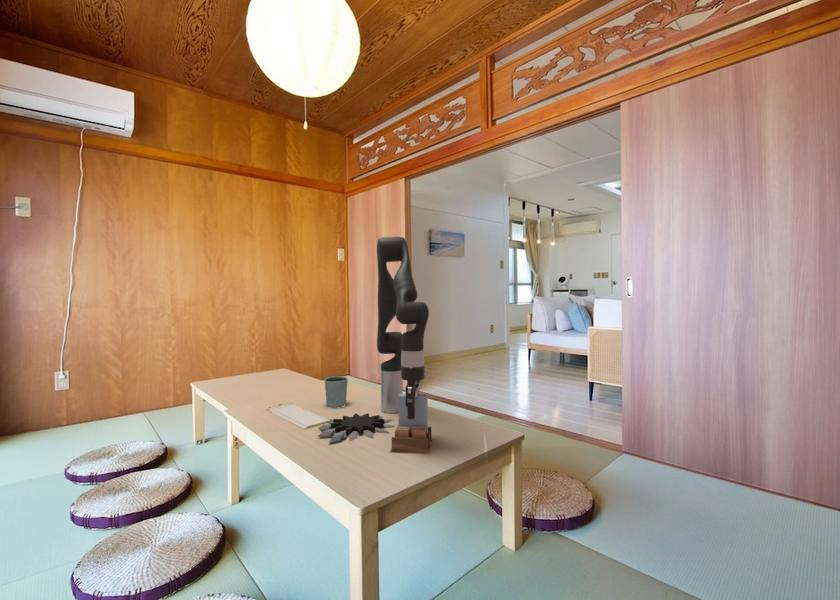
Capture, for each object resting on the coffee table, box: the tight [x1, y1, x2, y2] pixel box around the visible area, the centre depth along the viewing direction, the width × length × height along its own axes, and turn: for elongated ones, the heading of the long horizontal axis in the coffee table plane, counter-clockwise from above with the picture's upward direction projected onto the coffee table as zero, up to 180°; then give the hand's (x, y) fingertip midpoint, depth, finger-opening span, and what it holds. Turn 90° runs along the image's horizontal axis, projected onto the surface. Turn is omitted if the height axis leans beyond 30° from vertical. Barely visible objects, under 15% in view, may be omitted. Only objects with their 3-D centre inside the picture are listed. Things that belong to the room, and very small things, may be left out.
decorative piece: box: [317, 412, 396, 444], centre depth 138 cm, size 30×4×30 cm
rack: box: [389, 425, 434, 455], centre depth 121 cm, size 12×12×6 cm
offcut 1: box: [395, 426, 410, 437], centre depth 119 cm, size 3×4×6 cm
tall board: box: [398, 393, 429, 432], centre depth 123 cm, size 3×9×15 cm, turn 82°
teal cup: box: [324, 376, 349, 409], centre depth 171 cm, size 10×10×12 cm
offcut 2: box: [412, 427, 426, 438], centre depth 118 cm, size 3×4×6 cm
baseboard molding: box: [265, 402, 330, 430], centre depth 155 cm, size 31×3×12 cm
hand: (413, 414), depth 123 cm, fingers open, 8 cm apart
